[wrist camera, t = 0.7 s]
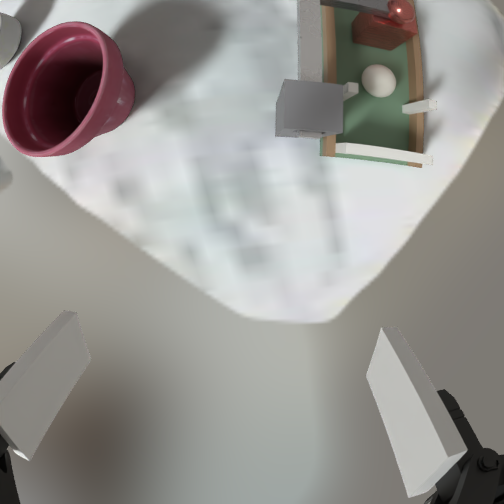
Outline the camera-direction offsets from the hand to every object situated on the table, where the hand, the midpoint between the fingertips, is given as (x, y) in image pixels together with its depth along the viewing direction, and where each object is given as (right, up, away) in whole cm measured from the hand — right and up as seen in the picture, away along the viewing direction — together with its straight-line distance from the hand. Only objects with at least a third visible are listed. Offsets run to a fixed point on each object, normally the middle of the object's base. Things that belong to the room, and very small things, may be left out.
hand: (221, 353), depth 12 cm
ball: (+15, +23, +15) cm, 32 cm away
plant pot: (-18, +24, +20) cm, 36 cm away
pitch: (+13, +27, +18) cm, 34 cm away
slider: (+11, +29, +15) cm, 35 cm away
